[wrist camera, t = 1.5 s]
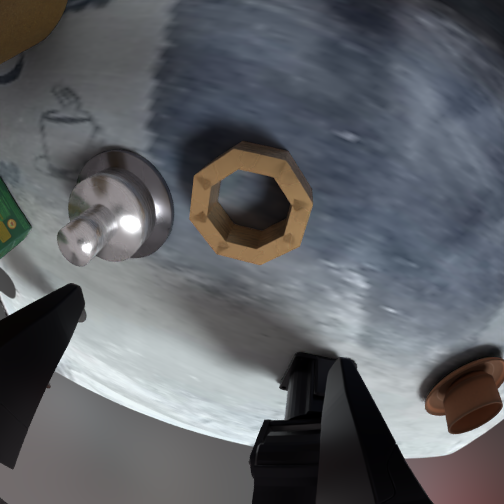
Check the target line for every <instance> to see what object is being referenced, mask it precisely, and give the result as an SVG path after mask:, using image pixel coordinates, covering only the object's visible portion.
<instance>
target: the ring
mask: <svg viewBox="0 0 504 504" xmlns="http://www.w3.org/2000/svg"><path fill="white" fill-rule="evenodd" d="M238 169H240V170H245V171H249V172H253V173H258V174H262V175H266V176H270V177H274V179H275V180H276V182H277V183H278V185H279V186H280V188H281V189H282V191H283V192H284V194H285V196H286V197H287V199H288V200H289V202H290V207H289V211H288V214H287V218H286V219H284V220H282V221H280V222H278V223H276V224H274V225H272V226H270V227H268V228H266V229H264V230H263V231H261V230H257V229H253V228H249V227H245V226H241V225H237V224H234V223H233V222H232V220H231V219H230V217H229V216H228V215H227V213H226V212H225V211H224V209H223V208H222V207H221V205H220V204H219V203H218V196H219V189H220V183H221V180H222V179H224V178H225V177H227V176H228V175H230V174H232V173H233V172H235V171H236V170H238ZM312 206H313V196H312V188H311V187H310V185H309V183H308V182H307V180H306V178H305V177H304V175H303V174H302V172H301V170H300V169H299V167H298V166H297V164H296V162H295V161H294V159H293V158H292V156H291V155H290V153H289V151H286V150H282V149H277V148H273V147H269V146H265V145H260V144H256V143H251V142H246V141H241V142H240V143H238V144H237V145H235V146H234V147H232V148H231V149H229V150H228V151H226V152H225V153H223V154H222V155H220V156H219V157H217V158H216V159H214V160H213V161H211V162H210V163H208V164H207V165H206V166H205V167H203V168H202V169H201V170H200V171H199V172H198V173H197V174H196V175H194V181H193V189H192V199H191V208H190V221H191V222H192V223H193V224H194V226H195V227H196V228H197V230H198V231H199V232H200V233H201V235H202V236H203V237H204V239H205V240H206V241H207V242H208V244H209V245H210V246H211V248H212V249H213V250H214V251H215V253H216V254H218V255H222V256H226V257H230V258H234V259H238V260H242V261H246V262H250V263H254V264H258V265H262V264H264V263H266V262H268V261H270V260H272V259H274V258H276V257H279V256H281V255H283V254H285V253H287V252H289V251H291V250H293V249H295V248H298V247H300V244H301V241H302V238H303V234H304V231H305V228H306V225H307V222H308V219H309V215H310V212H311V209H312Z"/></svg>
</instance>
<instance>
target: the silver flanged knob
mask: <svg viewBox="0 0 504 504" xmlns="http://www.w3.org/2000/svg"><path fill="white" fill-rule="evenodd" d="M68 211H69V218H70V222H69V223H68V224H67V225H66V226H64V227H63V228H62V229H61V230H60V231H59V232H58V235H57V243H58V246H59V249H60V251H61V253H62V254H63V256H64V257H65V258H66V259H67V260H68V261H69V262H70V263H72V264H74V265H76V266H85V265H86V264H87V263H88V262H89V261H90V260H91V259H92V258H93V257H94V256H95V255H96V256H98V257H100V258H102V259H104V260H108V261H113V262H119V261H124V260H126V259H128V258H140V257H145V256H148V255H150V254H152V253H154V252H155V251H157V250H158V249H159V248H160V247H161V246H162V245H163V243H164V242H165V241H166V239H167V238H168V236H169V234H170V232H171V230H172V226H173V221H174V206H173V200H172V196H171V193H170V190H169V188H168V186H167V184H166V182H165V180H164V178H163V177H162V175H161V174H160V173H159V171H158V170H157V169H156V168H155V167H154V166H153V165H152V164H151V163H150V162H149V161H147V160H146V159H145V158H143V157H142V156H140V155H138V154H136V153H133V152H131V151H127V150H119V149H115V150H109V151H105V152H103V153H101V154H99V155H96V156H95V157H93V158H92V159H90V160H89V161H88V162H87V163H86V164H85V166H84V167H83V169H82V170H81V172H80V175H79V177H78V181H77V185H76V186H75V188H74V189H73V191H72V193H71V195H70V198H69V205H68Z"/></svg>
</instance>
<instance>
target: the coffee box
mask: <svg viewBox="0 0 504 504" xmlns="http://www.w3.org/2000/svg"><path fill="white" fill-rule="evenodd" d="M30 231H31V226H30V225H29V223H28V222H27V220H26V218H25V216H24V214H23V213H22V212H21V211H20V209H19V208H18V206H17V205H16V203H15V201H14V200H13V198H12V197H11V195H10V193H9V191H8V190H7V187H6V185H5V184H4V183H3V181H2V179H1V178H0V259H1V258H2V257H3V256H5V254H7V253H8V252H9V251H10V250H12V249H13V248H14V247H15V246H17V245H18V244H19V243H20V242H21V241H22V240H24V239H25V238H26V237H27V235H28V234H29V232H30Z"/></svg>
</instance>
